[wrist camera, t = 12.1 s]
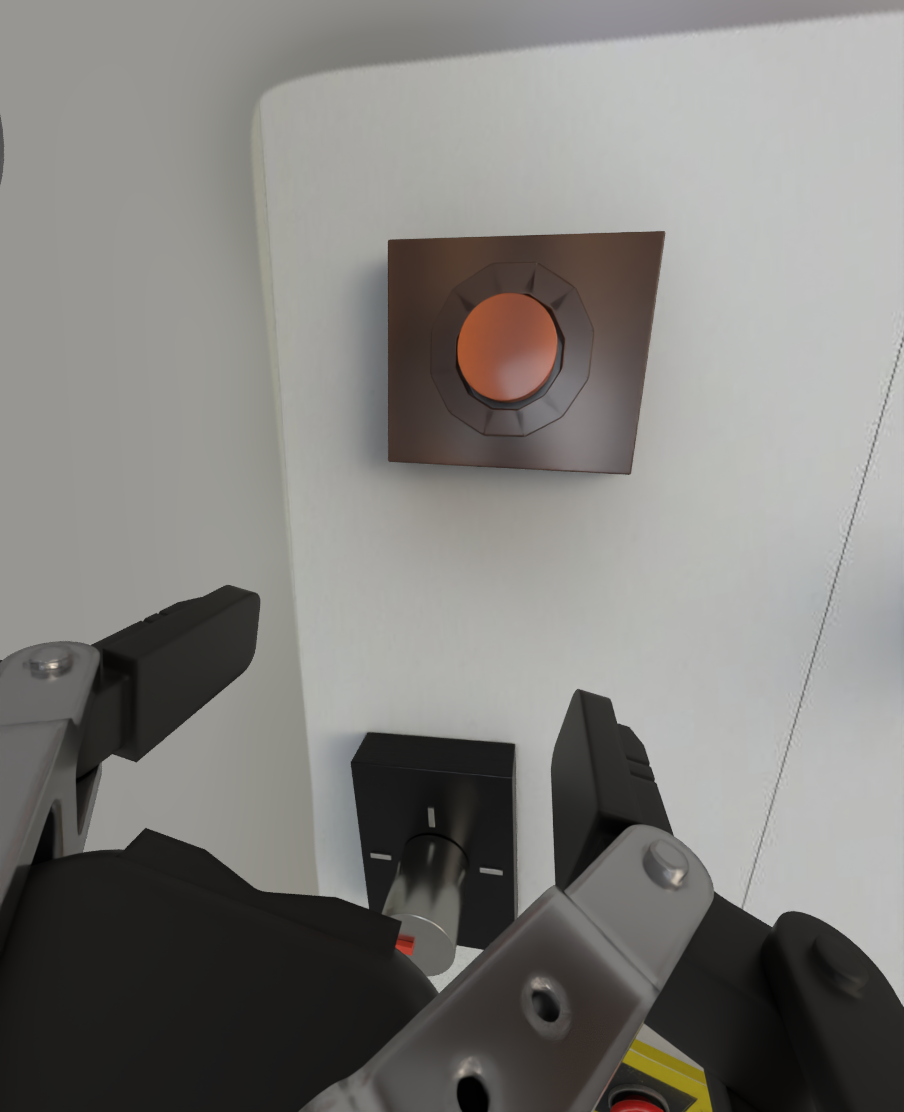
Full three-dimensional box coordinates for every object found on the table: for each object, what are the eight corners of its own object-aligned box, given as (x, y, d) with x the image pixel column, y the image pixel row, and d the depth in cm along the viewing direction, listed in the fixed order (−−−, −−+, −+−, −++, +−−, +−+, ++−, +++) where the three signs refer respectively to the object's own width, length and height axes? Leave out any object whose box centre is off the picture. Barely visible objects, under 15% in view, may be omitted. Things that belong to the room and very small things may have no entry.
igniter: (400, 458, 26) (375, 464, 22) (401, 255, 23) (373, 222, 19) (623, 470, 24) (638, 479, 20) (653, 249, 21) (678, 210, 17)
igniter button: (462, 401, 21) (455, 399, 19) (466, 303, 20) (459, 292, 18) (551, 404, 20) (552, 402, 19) (560, 303, 19) (562, 291, 17)
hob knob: (470, 841, 28) (454, 930, 23) (468, 895, 30) (452, 991, 25) (401, 829, 29) (372, 912, 24) (402, 882, 30) (374, 972, 25)
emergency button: (699, 1206, 31) (495, 1103, 32) (681, 1115, 35) (500, 1026, 37) (776, 1141, 28) (549, 1029, 30) (746, 1049, 33) (548, 955, 34)
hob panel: (367, 731, 31) (349, 763, 28) (515, 743, 29) (512, 779, 26) (385, 890, 35) (370, 933, 32) (517, 910, 33) (515, 958, 30)
